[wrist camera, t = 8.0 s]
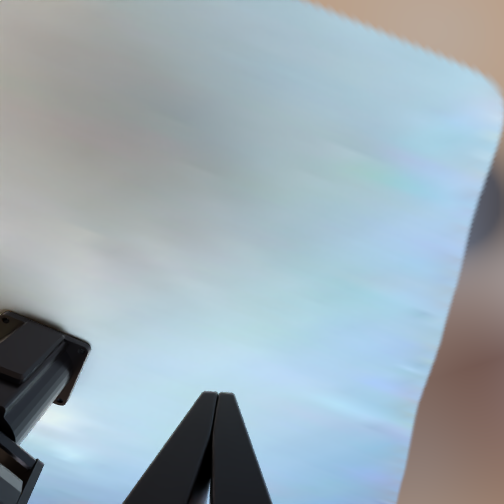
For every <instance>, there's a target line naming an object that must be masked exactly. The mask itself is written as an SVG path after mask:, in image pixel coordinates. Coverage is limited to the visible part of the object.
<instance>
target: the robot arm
mask: <svg viewBox="0 0 504 504" xmlns="http://www.w3.org/2000/svg"><path fill="white" fill-rule="evenodd" d="M7 318H8V319H7ZM82 349H83V350H84V351H83V350H82ZM90 351H91V348H90V346H89V345H88V344H87V343H85V342H82V341H80V340H77V339H75V338H73V337H70V336H68V335H66V334H63V333H61V332H58V331H56V330H54V329H51V328H49V327H46V326H44V325H42V324H39V323H37V322H34V321H32V320H30V319H27V318H25V317H22V316H20V315H18V314H15V313H13V312H10V311H7V312H5V313H3V314H1V315H0V504H27V502H28V500H29V498H30V496H31V493H32V491H33V489H34V487H35V484H36V482H37V480H38V478H39V475H40V473H41V471H42V468H43V466H44V463H42V462H41V461H40V460H39V459H34V458H33V457H32V456H31V455H30V454H28V453H27V452H26V451H25V450H24V449H22V448H21V447H20V446H19V445H20V444H21V442H22V441H23V440H24V439H25V437H26V436H27V435H28V433H29V432H30V431H31V430H32V428H33V427H34V426H35V425H36V423H37V422H38V421H39V419H40V418H41V417H42V416H43V414H44V413H45V412H46V410H47V409H48V408H49V407H50V405H51V404H52V403H54V404H57V405H65V404H66V402H67V401H68V400H69V398H70V396H71V393H72V391H73V389H74V387H75V384H76V382H77V380H78V378H79V375H80V373H81V371H82V369H83V366H84V364H85V362H86V360H87V357H88V355H89V353H90ZM209 487H210V503H209V504H272V501H271V498H270V495H269V492H268V489H267V486H266V483H265V481H264V478H263V475H262V472H261V469H260V466H259V463H258V460H257V458H256V455H255V452H254V449H253V446H252V443H251V440H250V437H249V435H248V432H247V429H246V426H245V423H244V420H243V417H242V415H241V412H240V409H239V406H238V403H237V400H236V397H235V395H234V394H233V393H228V392H220V393H219V395H218V393H217V392H212V391H204V392H202V393H201V395H200V396H199V398H198V399H197V400H196V402H195V403H194V404H193V406H192V407H191V409H190V410H189V411H188V413H187V414H186V416H185V417H184V418H183V420H182V421H181V423H180V424H179V425H178V427H177V428H176V430H175V431H174V432H173V434H172V435H171V436H170V438H169V439H168V441H167V442H166V443H165V445H164V446H163V448H162V449H161V450H160V452H159V453H158V455H157V456H156V457H155V459H154V460H153V461H152V463H151V464H150V466H149V467H148V468H147V470H146V471H145V473H144V474H143V475H142V477H141V478H140V480H139V481H138V482H137V484H136V485H135V487H134V488H133V489H132V491H131V492H130V493H129V495H128V496H127V498H126V499H125V500H124V502H123V503H122V504H206V503H207V498H208V492H209Z"/></svg>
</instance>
